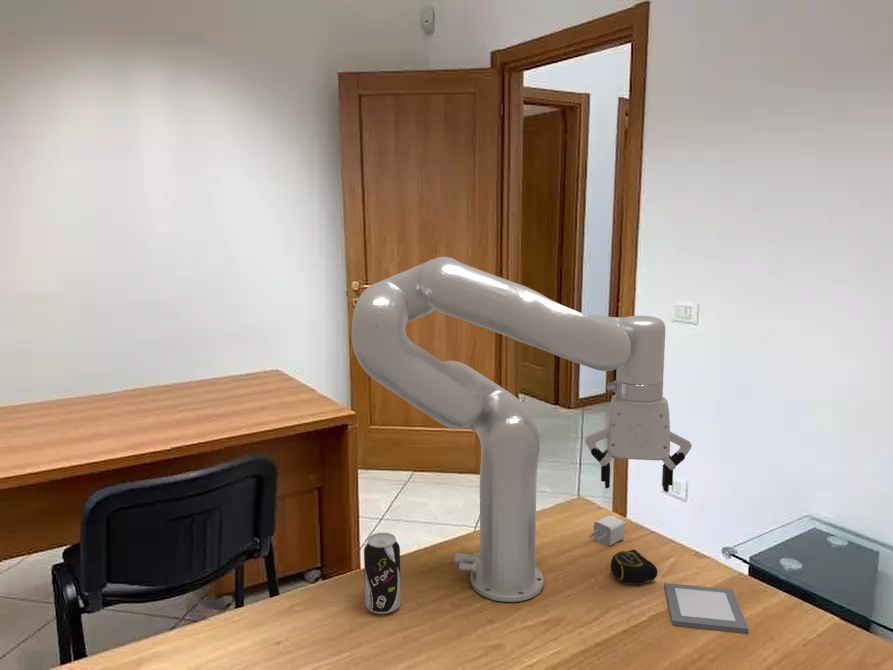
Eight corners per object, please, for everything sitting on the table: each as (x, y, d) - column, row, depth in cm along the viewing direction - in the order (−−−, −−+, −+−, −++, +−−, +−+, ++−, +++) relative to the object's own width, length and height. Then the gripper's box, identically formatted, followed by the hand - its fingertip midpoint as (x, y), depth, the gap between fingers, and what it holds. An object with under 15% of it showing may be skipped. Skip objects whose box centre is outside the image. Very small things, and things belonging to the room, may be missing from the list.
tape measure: (658, 584, 117) (660, 564, 116) (624, 591, 115) (625, 571, 114) (636, 565, 123) (637, 546, 122) (602, 571, 121) (603, 552, 120)
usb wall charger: (623, 540, 132) (624, 521, 131) (601, 551, 128) (602, 532, 127) (607, 532, 135) (607, 514, 134) (585, 544, 131) (585, 524, 130)
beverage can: (365, 618, 107) (363, 548, 105) (366, 598, 113) (363, 531, 111) (401, 616, 108) (400, 546, 106) (400, 596, 113) (399, 529, 111)
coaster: (672, 625, 105) (672, 620, 105) (664, 587, 116) (664, 582, 115) (747, 633, 103) (748, 628, 103) (732, 593, 114) (732, 588, 113)
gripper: (586, 394, 111) (584, 492, 114) (697, 398, 108) (692, 499, 111) (586, 383, 118) (584, 475, 121) (690, 386, 115) (685, 481, 118)
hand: (635, 487), depth 116 cm, fingers open, 9 cm apart
